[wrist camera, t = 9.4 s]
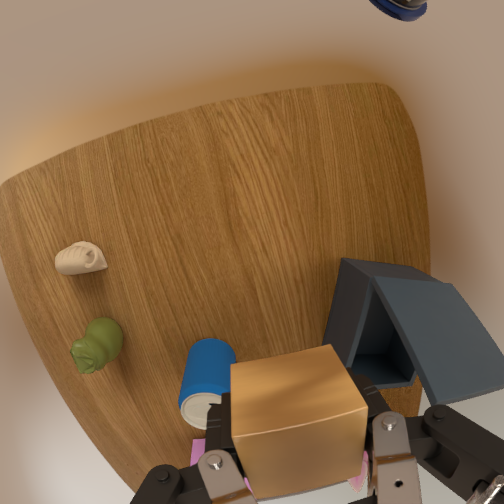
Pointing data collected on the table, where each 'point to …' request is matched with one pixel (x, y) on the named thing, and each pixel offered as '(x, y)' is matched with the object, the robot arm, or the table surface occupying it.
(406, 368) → the chest
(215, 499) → the robot arm
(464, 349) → the lid
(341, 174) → the table surface
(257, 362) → the block
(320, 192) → the table surface
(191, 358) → the beverage can
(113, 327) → the olive green lumpy piece
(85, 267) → the decorative ornament
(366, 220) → the table surface
